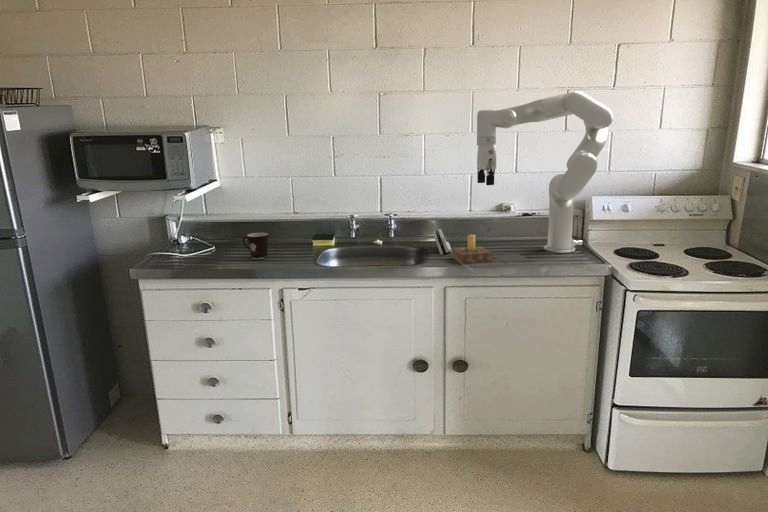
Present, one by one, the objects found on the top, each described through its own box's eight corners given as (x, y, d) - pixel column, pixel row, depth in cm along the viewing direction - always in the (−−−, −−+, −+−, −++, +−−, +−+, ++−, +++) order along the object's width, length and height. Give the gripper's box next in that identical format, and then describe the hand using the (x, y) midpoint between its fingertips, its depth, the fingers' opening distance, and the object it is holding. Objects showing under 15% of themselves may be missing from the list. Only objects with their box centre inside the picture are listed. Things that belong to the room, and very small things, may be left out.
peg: (473, 259, 225) (473, 234, 223) (476, 260, 223) (476, 235, 220) (466, 259, 225) (466, 235, 223) (469, 261, 222) (469, 236, 220)
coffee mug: (273, 258, 236) (271, 234, 234) (254, 261, 231) (252, 237, 228) (260, 253, 245) (259, 231, 242) (242, 256, 239) (240, 233, 237)
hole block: (480, 255, 231) (480, 246, 230) (491, 262, 219) (491, 252, 218) (452, 257, 228) (452, 248, 227) (461, 264, 217) (461, 254, 216)
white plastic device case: (452, 254, 235) (444, 232, 233) (441, 258, 235) (433, 236, 233) (450, 245, 251) (442, 225, 249) (439, 249, 251) (432, 228, 249)
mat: (517, 255, 230) (517, 253, 230) (529, 261, 220) (529, 259, 219) (491, 257, 228) (491, 255, 228) (502, 263, 218) (502, 262, 217)
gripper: (503, 141, 221) (502, 185, 225) (486, 140, 238) (486, 181, 242) (485, 142, 220) (484, 186, 224) (469, 141, 236) (469, 182, 240)
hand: (485, 183), depth 233 cm, fingers open, 9 cm apart
